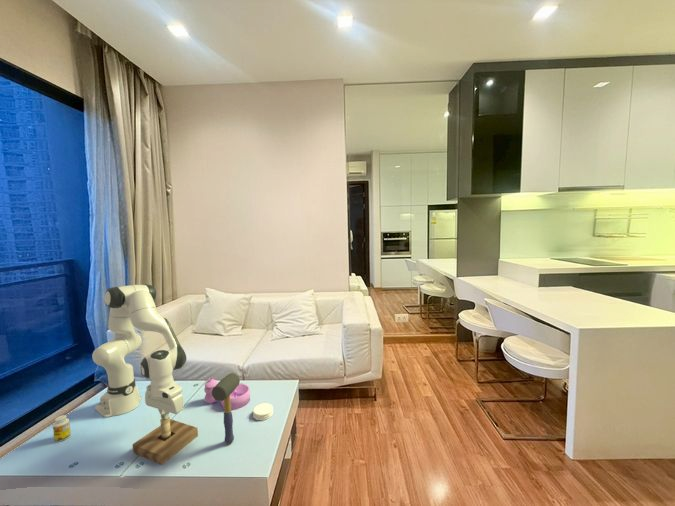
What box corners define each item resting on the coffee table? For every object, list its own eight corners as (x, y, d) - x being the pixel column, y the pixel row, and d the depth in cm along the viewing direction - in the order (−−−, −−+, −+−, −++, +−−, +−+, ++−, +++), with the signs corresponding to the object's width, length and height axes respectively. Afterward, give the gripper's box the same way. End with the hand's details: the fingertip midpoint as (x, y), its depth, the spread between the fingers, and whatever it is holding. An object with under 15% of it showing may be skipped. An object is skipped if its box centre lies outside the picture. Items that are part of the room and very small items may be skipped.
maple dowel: (160, 445, 131) (158, 420, 130) (167, 440, 134) (165, 415, 133) (166, 447, 130) (164, 422, 129) (173, 442, 133) (171, 417, 132)
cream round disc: (249, 418, 149) (248, 412, 148) (260, 407, 158) (260, 401, 158) (265, 422, 145) (265, 416, 145) (276, 411, 154) (276, 404, 154)
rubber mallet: (229, 453, 125) (225, 386, 123) (213, 451, 127) (209, 385, 124) (244, 433, 137) (240, 372, 135) (229, 432, 139) (225, 371, 136)
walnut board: (133, 452, 127) (132, 444, 127) (170, 426, 144) (170, 419, 143) (161, 464, 120) (161, 455, 120) (197, 435, 137) (197, 427, 136)
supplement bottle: (51, 441, 135) (49, 420, 135) (65, 433, 141) (63, 413, 140) (59, 443, 134) (57, 422, 133) (73, 435, 139) (71, 415, 138)
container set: (253, 394, 170) (252, 372, 169) (243, 410, 155) (242, 386, 154) (212, 393, 172) (211, 371, 171) (198, 409, 157) (196, 385, 156)
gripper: (139, 387, 131) (142, 416, 132) (172, 396, 123) (174, 427, 124) (153, 380, 137) (155, 408, 138) (185, 388, 129) (187, 418, 130)
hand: (165, 417), depth 131 cm, fingers closed
